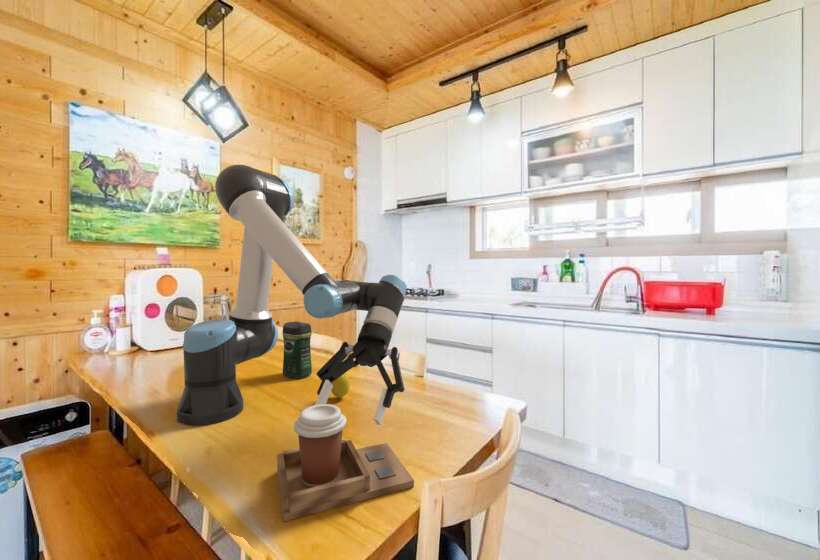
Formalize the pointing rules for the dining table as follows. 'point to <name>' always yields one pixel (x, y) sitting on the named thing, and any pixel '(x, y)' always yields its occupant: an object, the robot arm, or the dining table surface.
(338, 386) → the lemon
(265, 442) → the dining table surface
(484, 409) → the dining table surface
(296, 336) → the coffee jar
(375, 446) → the wooden tray
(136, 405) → the dining table surface
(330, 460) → the coffee cup
